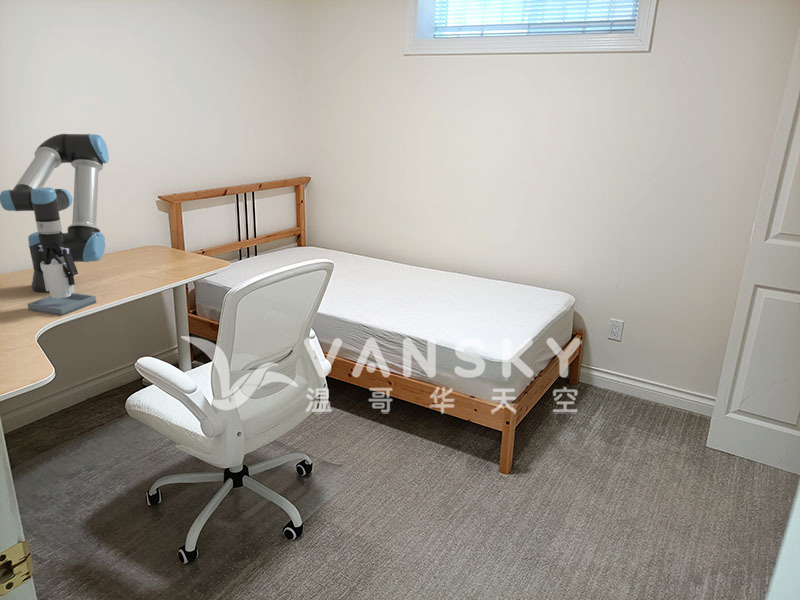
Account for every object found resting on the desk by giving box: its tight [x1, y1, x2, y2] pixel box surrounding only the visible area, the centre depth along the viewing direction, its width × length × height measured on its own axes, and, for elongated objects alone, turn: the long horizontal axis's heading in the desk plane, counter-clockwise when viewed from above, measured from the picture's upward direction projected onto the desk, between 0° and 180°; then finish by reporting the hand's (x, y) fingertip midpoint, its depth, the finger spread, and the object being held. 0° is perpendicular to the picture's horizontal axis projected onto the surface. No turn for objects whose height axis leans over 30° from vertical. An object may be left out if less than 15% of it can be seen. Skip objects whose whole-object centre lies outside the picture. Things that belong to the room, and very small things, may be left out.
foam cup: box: [40, 259, 71, 298], centre depth 214 cm, size 10×9×13 cm
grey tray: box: [27, 292, 97, 317], centre depth 217 cm, size 16×16×3 cm
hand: (60, 291), depth 215 cm, fingers closed on foam cup, 9 cm apart
